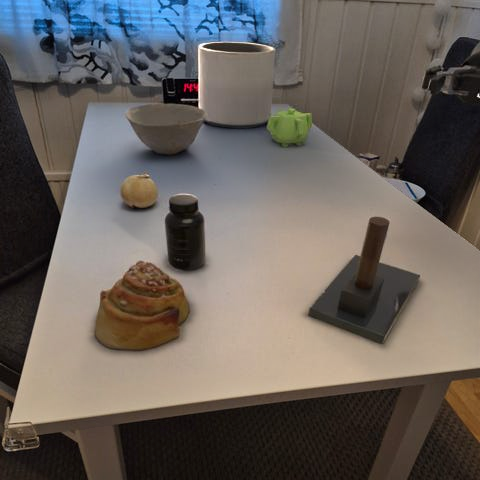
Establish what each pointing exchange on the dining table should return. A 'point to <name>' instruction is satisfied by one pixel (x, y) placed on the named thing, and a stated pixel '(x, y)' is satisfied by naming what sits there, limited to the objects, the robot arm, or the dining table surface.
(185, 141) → the ceramic bowl
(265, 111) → the planter
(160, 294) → the pastry
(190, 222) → the supplement bottle
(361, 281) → the wooden mallet
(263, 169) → the dining table surface
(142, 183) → the onion
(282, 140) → the teapot
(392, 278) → the slate board
